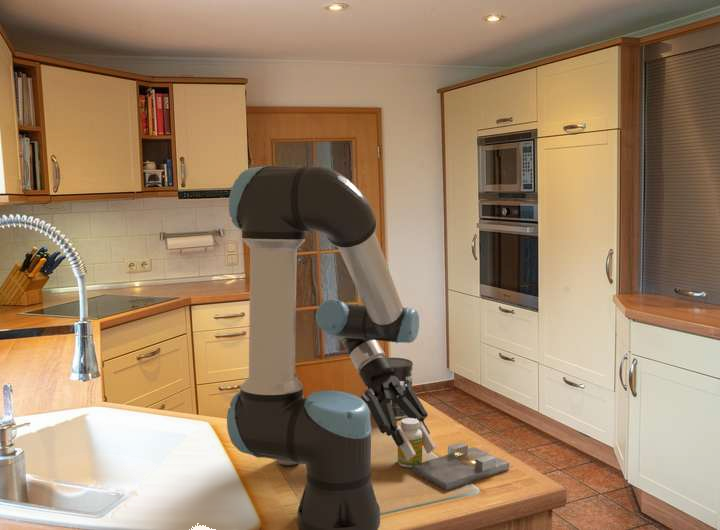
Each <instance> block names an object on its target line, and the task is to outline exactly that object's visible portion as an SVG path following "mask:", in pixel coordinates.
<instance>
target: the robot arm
mask: <svg viewBox="0 0 720 530" xmlns="http://www.w3.org/2000/svg"><path fill="white" fill-rule="evenodd" d="M228 213H229V214H228V215H229V216H230V218H231V222H232V225H233V226H234V227H236V228H237V229H239V230H241V240H242V241H243V242H244V243H245V245H246V246H247V247H248V248H249V310H248V311H249V315H248V316H249V318H248V319H249V324H248V328H249V329H248V332H249V333H248V334H249V335H248V336H249V337H248V338H249V339H248V376H247V378H246V379H245V380H244V381H243V382H242V383H241V384H240V391H238V392H236V393H235V394H234V396H233V397H232V398H231V401H230V403H229V405H230V407H229V408H228V409H227V413H226V414H227V415H226V427H227V428H226V429H227V434H228V437H229V439H230V442H231V443H232V445H233V446H234V447H235V448H236V449H237V451H239V452H241V453H242V454H247V455H250V456H253V457H256V458H259V459H260V458H262V459H263V458H265V459H269V460H270V459H271V460H276V459H277V460H283V461H289V462H295V463H298V464H303V465H305V466H306V467H305V468H306V484H305V486H304V488H303V489H304V490H303V493H302V496H301V499H300V502H299V506H298V508H297V527H298V529H299V530H378V529H379V527H380V526H381V525H380V524H381V508H380V506H379V503H378V501H377V497H376V495H375V494H376V493H375V489H374V487H373V485H372V479H371V471H372V469H371V468H372V464H371V463H372V460H371V457H372V456H371V453H372V451H371V450H372V429H373V428H372V423H371V416H372V418H373V420H374V422H375V424H376V426H377V427H378V430H379V431H380V433H381V434H385V435H387V436H388V437H390V436H391V438H392V439H393V441H394V443H395V445H396V446H397V447H398V446H400V448H401V450H402V452H403V454H404V456H405V457H406V459H407V461H408V460H410V459H411V458H413V457H414V456H415V455H416V453H415V451H414V449H413V447H412V446H411V444H410V442H409V440H408V438H407V437H406V435H405V433H404V431H403V429H402V427H401V426H400V427H399V426H398V423H397V419H395V416H394V412H393V409H392V405H391V402H390V401H391V400H392V401H393V403H394V404H397V405H398V406H399V407H400V408H401V410H402V411H403V412H404V413H405V414H406V415H407V418H414V419H417V420H419V428H418V429H420V430H421V432H422V448H424V450H425V452H426V454H430V453H432V451H434V450H435V449H436V448H437V446H436V444H435V443H434V440H433V439H432V437H431V432H430V431H429V429H428V427H427V425H426V424H425V419H426V418H428V416H429V414H428V412H427V411H426V409H425V407H424V406H423V403H422V402H421V401H420V399H419V398H418V395H417V394H416V392H415V390H414V389H413V385H412V386H411V383H410V381H409V380H408V379H407V380H406V381H399V379H398V378H396V377H395V375H394V369H393V367H392V365H391V364H390V362H389V360H388V358H389V357H386V352H385V351H384V350H383V348H382V347H381V345H380V342H390V343H396V344H399V343H403V344H404V343H407V344H409V343H414V341H415V340H416V339H417V336H418V334H419V330H420V318H419V317H420V315H419V313H418V311H417V310H416V309H414V308H409V307H404V305H403V304H402V301H401V299H400V297H399V293H398V291H397V287H396V285H395V283H394V282H395V281H394V280H393V277H392V274H391V271H390V270H389V267H388V264H387V261H386V258H385V255H384V252H383V250H382V248H381V245H380V242H379V239H378V237H377V234H376V230H377V228H378V222H377V218H376V215H375V213H374V211H373V208H372V206H371V205H370V203H369V201H368V200H367V198H366V197H365V196H364V194H363V192H361V190H360V189H359V188H358V187H357V186H356V185H355V184H354V183H352V181H351V180H349V179H348V178H347V177H345V176H344V175H343V174H341V173H340V172H338V171H335V170H334V169H333V168H332V169H331V168H329V167H326V166H323V165H322V166H321V165H309V166H308V165H304V166H302V165H296V166H292V165H289V166H288V165H287V166H286V165H285V166H284V165H280V166H279V165H264V166H257V167H255V166H254V167H250V168H247V169H244V171H242V172H240V174H239V175H238V177H237V178H236V179H235V180H234V183H233V185H232V187H231V190H230V193H229V197H228ZM313 231H314V232H319V233H323V234H324V235H326V237H327V240H328V241H329V242H330V244H331V245H333V246H334V247H335V248H338V250H339V253H340V255H341V257H342V260H343V262H344V264H345V266H346V269H347V271H348V273H349V275H350V277H351V279H352V283H353V284H354V287H355V289H356V290H357V292H358V296H360V297H359V298H360V300H361V301H362V305H361V304H353V303H352V304H351V303H350V304H349V303H345V302H344V301H342V300H339V299H337V298H330V299H329V298H328V299H326V300H324V301H323V302H322V303H320V305H319V306H318V307H317V309H316V313H315V321H316V324H317V325H318V327H319V328H320V329H321V330H322V331H323V332H324V333H325V334H327V335H329V336H332V337H334V339H337V340H338V341H340V342H341V344H342V345H343V347H344V349H345V350H346V352H347V354H348V356H349V358H350V360H351V361H352V364H353V365H354V367H355V369H356V371H358V372H359V373H358V375H359V377H360V379H361V380H362V382H363V384H364V385H365V386H366V387H367V389H365V391H363V393H362V394H361V396H360V397H359V396H357V395H355V394H352V393H349V392H345V391H341V390H333V389H332V390H330V391H328V390H316V391H314V392H311V393H309V394H308V396H307V397H306V398H305V397H304V398H303V396H304V394H303V393H304V390H303V389H304V388H303V387H304V386H303V384H302V382H301V381H299V379H298V377H297V378H296V377H295V374H296V339H297V338H296V337H297V335H296V334H297V333H296V331H297V329H296V327H297V325H296V323H297V322H296V321H297V268H298V267H297V266H298V265H297V264H298V261H297V259H298V257H297V255H298V249H299V247H301V246H302V245H303V244H304V243H305V241H306V232H313ZM398 395H399V396H398ZM397 396H398V397H397ZM396 397H397V398H396ZM376 398H377V399H376ZM377 400H378V401H377ZM277 460H276V461H277Z"/></svg>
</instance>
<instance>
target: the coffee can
mask: <svg viewBox="0 0 720 530" xmlns="http://www.w3.org/2000/svg"><path fill="white" fill-rule="evenodd" d="M387 358H388V360H389V362H390V364H391V365H392V367H393V369H394V375H395V377H396V378H398V379H399V381H406V380H407V379H408V380H409V381H410V383H411V386H412V387H413V361H412V360H410V359H407V358H402V357H387ZM398 396H399V395H398ZM398 396H397V397H398ZM397 397H396V398H397ZM376 399H377V398H376ZM377 401H378V400H377ZM390 402H391V405H392V409H393V412H394V416H395V419H396V420H402V419H405V418H408V417H407V415H406V414H405V413H404V412H403V411H402V410H401V408H400V407H399V406H398V405H397V404H394V403H393V401H392V400H391V401H390Z"/></svg>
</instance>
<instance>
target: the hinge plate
mask: <svg viewBox="0 0 720 530" xmlns="http://www.w3.org/2000/svg"><path fill="white" fill-rule="evenodd" d="M411 470H412V471H411V472H412V473H413V472H414V473H413V474H415V473H416V475H417V474H418V475H417V476H419V475H420V476H419V477H421V476H422V477H421V478H423V477H424V478H425V479H424V478H423V479H424V480H426V479H428V480H429V481H428V480H427V481H428V482H430V481H432V482H433V483H432V482H431V483H432V484H434V483H435V484H436V485H435V484H434V485H435V486H437V485H438V487H439V486H440V487H439V488H441V487H442V488H441V489H443V488H444V489H443V490H445V491H446V490H448V491H451V490H453V489H455V488H459V487H462V486H465V485H467V484H466V483H468V482H469V483H468V484H471V483H473V482H476V481H480V480H483V479H485V478H489V477H491V476H494V475H497V474H501V473H503V472H506V471H508V470H510V462H509V461H506V460H505V459H502V458H500V457H498V456H495V455H493V454H491V453H488V452H487V451H484V450H482V449H480V448H477V447H475V446H472V447H469V445H468V444H466V443H464V442H457V443H453V444H451V445H448V446H447V454H445V455H441V456H439V457H435V458H432V459H429V460H428V459H427V460H426V461H422V463H418V464H415V465H412V469H411ZM464 484H465V485H464Z"/></svg>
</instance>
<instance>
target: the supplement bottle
mask: <svg viewBox="0 0 720 530" xmlns="http://www.w3.org/2000/svg"><path fill="white" fill-rule="evenodd" d="M401 427H402V429H403V431H404V433H405V435H406V437H407V438H408V440H409V442H410V444H411V446H412V447H413V449H414V451H415V453H416V455H415V456H414V457H413V458H411V459H410V460H408V461H407V459H406V457H405V456H404V454H403V452H402V450H401V448H400V446H397V464H398V465H399V466H401V467H404V468H410V469H411V468H412V465H415V464H418V463H422V462H423V445H422V432H421V430H420V429H418V428H419V420H417V418H416V419H414V418H408V417H407V418H403V419H400V428H401Z"/></svg>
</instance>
